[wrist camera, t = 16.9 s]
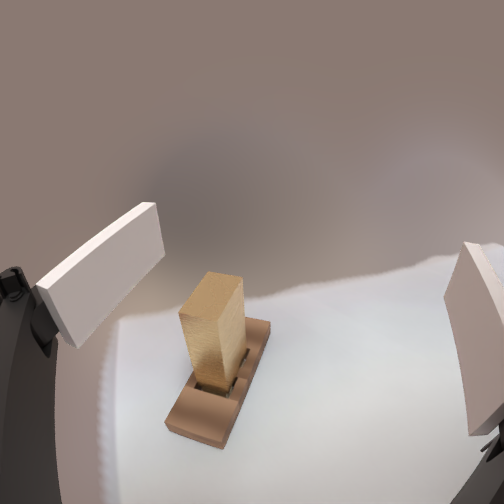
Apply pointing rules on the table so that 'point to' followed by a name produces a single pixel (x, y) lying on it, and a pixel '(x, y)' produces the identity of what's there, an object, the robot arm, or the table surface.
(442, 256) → the table surface
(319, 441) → the table surface
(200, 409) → the slotted wooden base
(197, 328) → the tall wooden block
